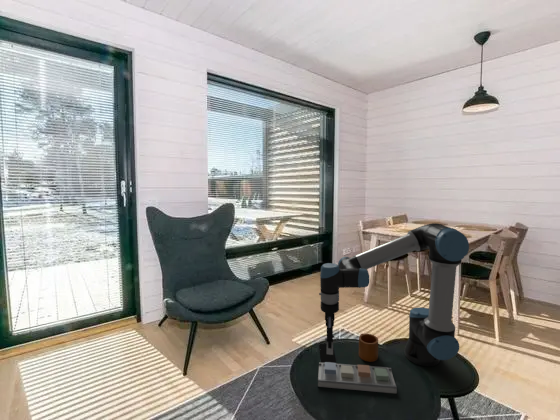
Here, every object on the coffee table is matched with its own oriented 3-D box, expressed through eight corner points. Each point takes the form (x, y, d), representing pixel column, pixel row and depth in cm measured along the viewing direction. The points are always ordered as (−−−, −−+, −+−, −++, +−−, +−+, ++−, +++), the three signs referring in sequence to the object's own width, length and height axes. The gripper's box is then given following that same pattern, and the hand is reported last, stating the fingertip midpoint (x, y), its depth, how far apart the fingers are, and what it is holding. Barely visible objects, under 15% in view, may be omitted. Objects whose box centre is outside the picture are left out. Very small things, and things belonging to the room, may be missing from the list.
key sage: (386, 373, 129) (386, 368, 129) (388, 380, 125) (388, 376, 124) (374, 372, 130) (374, 367, 130) (376, 379, 126) (376, 375, 125)
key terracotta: (369, 369, 130) (369, 365, 130) (370, 377, 126) (370, 372, 125) (357, 368, 131) (357, 364, 131) (358, 376, 127) (358, 371, 126)
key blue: (335, 367, 133) (335, 362, 132) (336, 374, 128) (336, 370, 128) (324, 366, 134) (324, 361, 133) (324, 373, 129) (324, 369, 129)
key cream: (352, 370, 132) (352, 366, 131) (353, 377, 127) (353, 373, 127) (341, 369, 133) (341, 365, 132) (341, 376, 128) (341, 372, 128)
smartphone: (320, 362, 141) (318, 343, 156) (320, 364, 141) (318, 345, 156) (336, 363, 141) (332, 343, 155) (336, 364, 141) (332, 345, 155)
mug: (371, 346, 153) (372, 329, 152) (380, 361, 141) (381, 343, 140) (354, 346, 153) (354, 330, 151) (361, 362, 141) (362, 344, 140)
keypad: (390, 373, 133) (390, 367, 132) (396, 393, 121) (396, 387, 121) (319, 367, 138) (319, 361, 138) (318, 386, 126) (317, 380, 126)
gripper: (321, 294, 133) (321, 343, 137) (320, 307, 121) (320, 362, 124) (338, 294, 132) (338, 345, 135) (339, 308, 119) (339, 363, 123)
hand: (329, 353), depth 130 cm, fingers closed
